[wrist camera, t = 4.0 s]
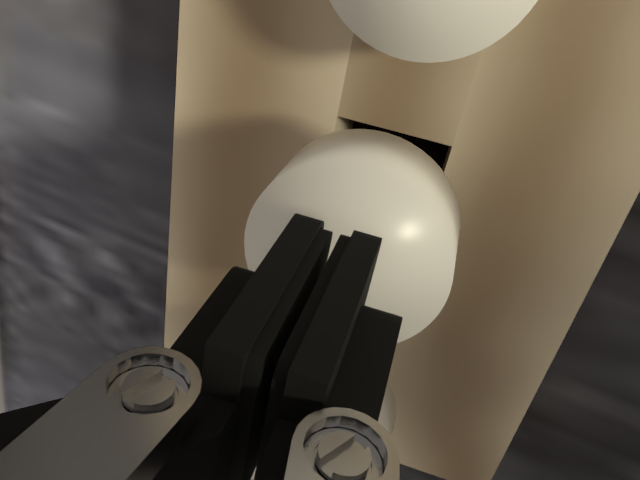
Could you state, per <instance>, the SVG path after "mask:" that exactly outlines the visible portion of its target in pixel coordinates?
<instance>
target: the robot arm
mask: <svg viewBox="0 0 640 480" xmlns="http://www.w3.org/2000/svg"><path fill="white" fill-rule="evenodd" d="M332 234H333V232H332V231H329V230H325V229H324V221H322V220H318V219H315V218H311V217H308V216H304V215H301V214H297V213H295V214H294V215H293V217H292V218H291V220H290V221H289V223H288V224H287V226H286V227H285V228H284V230H283V231H282V233H281V234H280V236H279V237H278V239H277V240H276V242H275V243H274V244H273V246H272V247H271V249H270V250H269V252H268V253H267V255H266V256H265V258H264V259H263V260H262V262H261V263H260V265H259V266H258V268H257V269H256V271H255V272H254V271H251V270H248V269H244V268H241V267H238V266H235V267H232V268H231V269H230V270H229V272H228V273H227V274H226V276H225V277H224V278H223V279H222V281H221V282H220V283H219V285H218V286H217V287H216V289H215V290H214V291H213V293H212V294H211V295H210V297H209V298H208V299H207V300H206V302H205V303H204V304H203V306H202V307H201V308H200V310H199V311H198V312H197V314H196V315H195V316H194V318H193V319H192V320H191V321H190V323H189V324H188V325H187V327H186V328H185V329H184V331H183V332H182V333H181V335H180V336H179V337H178V338H177V340H176V341H175V342H174V344H173V345H172V346H171V348H170V349H169V348H166V347H155V346H147V347H138V348H133V349H130V350H127V351H124V352H121V353H119V354H117V355H116V356H114V357H113V358H111V359H110V360H108V361H107V362H105V363H104V364H103V365H102V366H101V367H99V368H98V369H97V370H96V371H95V372H94V373H92V374H91V375H90V376H89V377H88V378H86V379H85V380H84V381H83V382H82V383H81V384H79V385H78V386H77V387H76V388H75V389H74V390H72V391H71V392H70V393H69V394H68V395H66V396H65V397H64V398H61V399H57V400H53V401H49V402H45V403H41V404H37V405H33V406H29V407H25V408H21V409H17V410H13V411H9V412H5V413H1V414H0V480H251V477H252V475H253V473H254V470H255V468H256V471H255V476H254V480H400V461H399V455H398V450H397V446H396V444H395V442H394V441H393V439H392V437H391V435H390V433H389V432H388V431H387V430H386V429H385V428H384V427H383V426H382V425H381V424H380V423H379V422H378V419H379V415H380V411H381V407H382V403H383V399H384V394H385V390H386V386H387V382H388V378H389V374H390V369H391V365H392V361H393V357H394V353H395V349H396V344H397V340H398V336H399V332H400V328H401V323H402V319H403V317H401V316H398V315H395V314H391V313H388V312H385V311H381V310H378V309H375V308H372V307H368V306H365V302H366V298H367V294H368V291H369V287H370V283H371V280H372V276H373V272H374V269H375V265H376V261H377V257H378V254H379V250H380V246H381V242H382V238H380V237H377V236H374V235H370V234H367V233H363V232H360V231H356V230H354V231H353V233H352V235H351V237H349V236H346V235H342V234H341V235H340V236H339V238H338V240H337V242H336V244H335V246H334V248H333V250H332V252H331V254H330V256H329V258H328V254H329V250H330V245H331V240H332ZM327 259H328V260H327Z"/></svg>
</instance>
